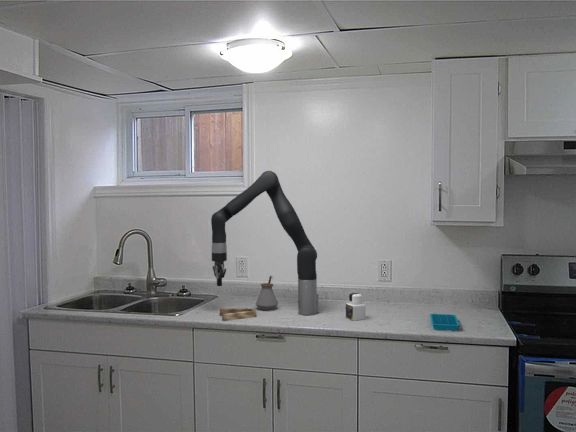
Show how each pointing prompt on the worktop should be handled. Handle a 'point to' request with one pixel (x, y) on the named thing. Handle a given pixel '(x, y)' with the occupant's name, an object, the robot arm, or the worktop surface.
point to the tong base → (239, 315)
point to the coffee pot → (267, 297)
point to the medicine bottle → (355, 307)
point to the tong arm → (233, 310)
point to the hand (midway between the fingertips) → (219, 285)
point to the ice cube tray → (444, 322)
